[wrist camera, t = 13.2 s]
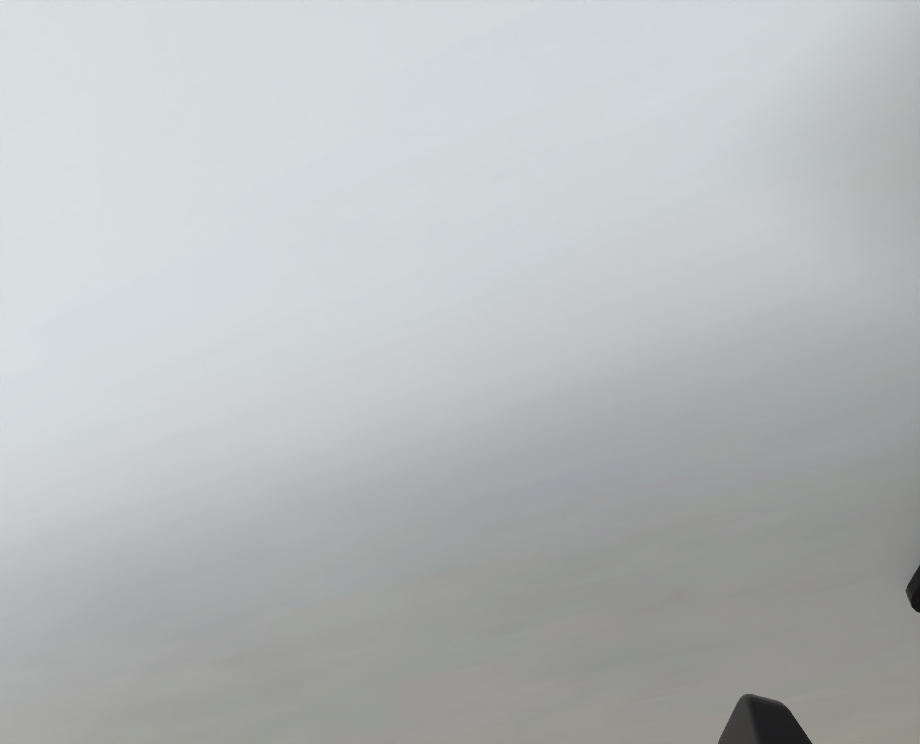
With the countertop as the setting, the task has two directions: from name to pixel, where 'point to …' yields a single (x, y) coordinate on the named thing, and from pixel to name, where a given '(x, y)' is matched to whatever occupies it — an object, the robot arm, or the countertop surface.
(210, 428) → the countertop surface
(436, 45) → the countertop surface
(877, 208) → the countertop surface
